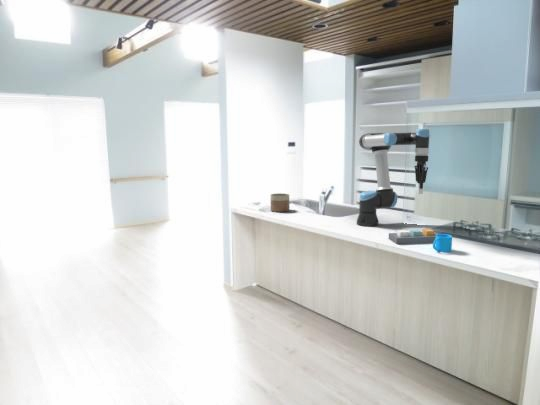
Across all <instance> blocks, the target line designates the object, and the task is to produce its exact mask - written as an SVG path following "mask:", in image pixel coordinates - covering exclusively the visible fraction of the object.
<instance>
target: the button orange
mask: <svg viewBox="0 0 540 405" xmlns="http://www.w3.org/2000/svg"><path fill="white" fill-rule="evenodd" d="M422 232H423V234H424V235H426V236H431V235H434V232H435V230H433V229H431V228H425V229H422Z"/></svg>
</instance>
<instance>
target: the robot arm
mask: <svg viewBox="0 0 540 405" xmlns="http://www.w3.org/2000/svg"><path fill="white" fill-rule="evenodd" d="M430 136H431V135H430V129H429V128H417V129H416V130H415V132H388V133H386V132H375V133H373V132H372V133H371V132H369V133H364V134H362V135H361V136H360V137H359V140H358V143H359V146H360V147H361V149H363V150H367V151H371V153H372V154H373V155H374V161H375V162H374V163H375V171H376V181H377V182H376V183H377V189H376V190H365V191H362V192H360V194H359V199H358V200H359V206H358V207H359V209H358V210H359V211H358V212H359V213H358V216H357V219H356V225H357V226H362V227H375V226H378V225H379V222H380V221H379V219H378V216H377V210H380V209H381V210H384V209H388V210H389V209H392V208H394V207H396V205H397V203H398V194H397V193H396V192H395V191H394V188H392V187H391V181H390V179H391V178H390V168H389V160H388V153H389V152H390V149H392V148H391V147H392V146H415V149H414V152H415V153H414V154H415V156H414V162H416V165H414V172H415V182H416V184H417V192H416V193H417V195H422V194H423V193H424V190H423V189H424V183H426V180H427V174H428V170H429V167H428V166H427V162H429V152H430V148H429V146H430Z"/></svg>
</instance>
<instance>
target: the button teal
mask: <svg viewBox="0 0 540 405" xmlns="http://www.w3.org/2000/svg"><path fill="white" fill-rule="evenodd" d="M409 232H410V235H412V236H421V232H422V231H421V230H419V229H410V230H409Z"/></svg>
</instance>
